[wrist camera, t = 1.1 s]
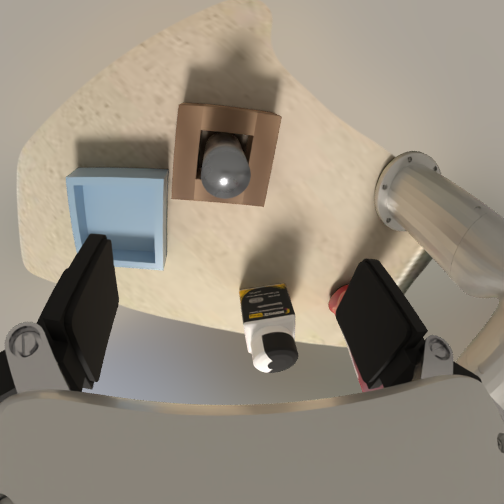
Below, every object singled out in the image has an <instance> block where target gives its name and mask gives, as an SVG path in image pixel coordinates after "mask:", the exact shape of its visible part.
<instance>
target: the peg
mask: <svg viewBox="0 0 504 504" xmlns="http://www.w3.org/2000/svg"><path fill="white" fill-rule="evenodd" d="M250 178H251V171H250V167H249V165H248V162H247V160H246V157H245V155H244V152H243V150H242V147H241V145H240V142H239V140H238V139H237V138H236V136H234V135H233V134H231V133H228V132H218V133H216V134H214V135H212V136H211V137H210V138H209V139H208V141H207V143H206V146H205V152H204V158H203V164H202V170H201V181H202V184H203V186H204V188H205V189H206V191H207V192H208V193H210V194H211V195H213V196H215V197H218V198H223V199H227V198H233V197H236V196H238V195H239V194H241V193H242V192H243V191H244V190H245V189H246V188H247V186H248V185H249V182H250Z"/></svg>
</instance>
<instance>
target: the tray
mask: <svg viewBox="0 0 504 504" xmlns="http://www.w3.org/2000/svg"><path fill="white" fill-rule="evenodd" d="M168 174H169V169H149V168H77V169H76V170H74V171H73V172H72V173H71V174H69V175H68V176H67V177H66V185H67V194H68V203H69V210H70V217H71V223H72V229H73V235H74V241H75V246H76V251H77V253H78V252H79V250H80V248H81V247H82V245H83V244H84V242H85V240H86V239H87V237H88V236H89V235H90V234H91V233H92V234H104V235H106V237H107V239H110V240H111V242H112V251H113V260H114V267H126V268H139V269H152V270H164V265H165V261H166V256H167V197H168Z"/></svg>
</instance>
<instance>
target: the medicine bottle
mask: <svg viewBox="0 0 504 504" xmlns="http://www.w3.org/2000/svg"><path fill="white" fill-rule="evenodd" d="M239 297H240V304H241V312H242V320H243V326H244V332H245V337H246V343H247V348H248V352H249V353H252V357H253V363H254V366H255V367H256V368H257V369H258V370H260V371H262V372H266V373H274V372H280V371H283V370H286V369H288V368H290V367H291V366H292V365H294V364H295V362H296V361H297V359H298V352H297V348H296V345H295V313H294V310H293V306H292V303H291V300H290V297H289V294H288V291H287V288H286V285H285V284H284V283H282V284H276V285H269V286H263V287H256V288H250V289H243V290H240V291H239Z"/></svg>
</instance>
